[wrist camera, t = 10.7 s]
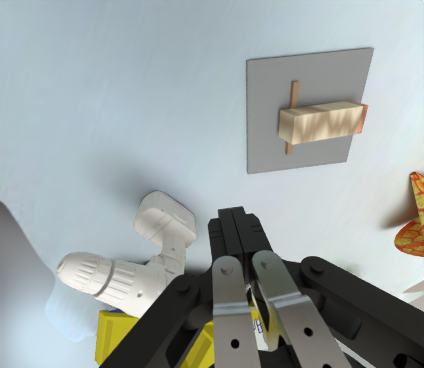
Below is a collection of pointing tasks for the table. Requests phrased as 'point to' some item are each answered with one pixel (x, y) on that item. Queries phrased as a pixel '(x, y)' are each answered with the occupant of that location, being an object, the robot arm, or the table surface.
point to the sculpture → (414, 223)
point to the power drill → (130, 272)
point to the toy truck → (122, 322)
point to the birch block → (321, 121)
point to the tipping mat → (299, 105)
